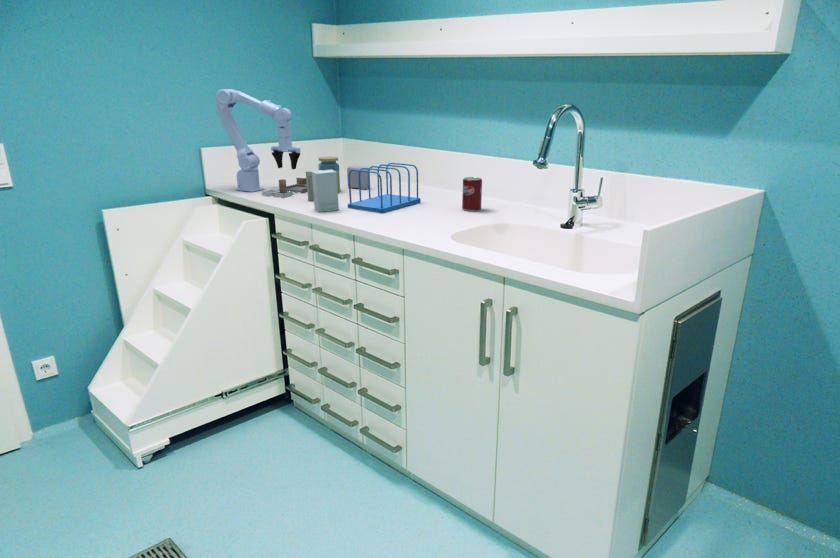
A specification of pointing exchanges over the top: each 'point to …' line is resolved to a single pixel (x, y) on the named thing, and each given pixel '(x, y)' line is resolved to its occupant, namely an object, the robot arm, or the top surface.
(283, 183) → the peg
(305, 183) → the cover
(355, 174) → the electronic device
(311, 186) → the skincare box
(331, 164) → the jar
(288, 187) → the pattern board
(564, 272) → the top surface
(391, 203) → the file sorter
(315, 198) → the skincare box
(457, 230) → the top surface
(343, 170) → the top surface
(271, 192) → the socket board
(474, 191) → the soda can
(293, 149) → the robot arm
